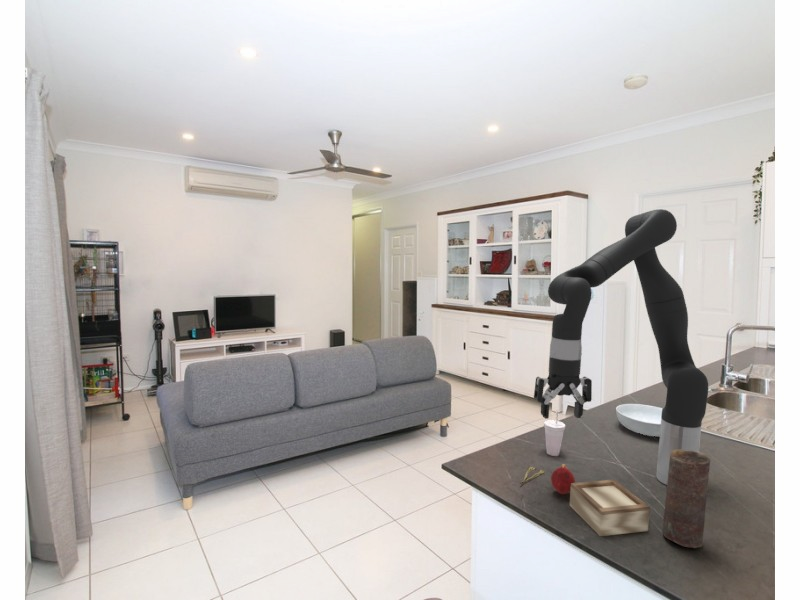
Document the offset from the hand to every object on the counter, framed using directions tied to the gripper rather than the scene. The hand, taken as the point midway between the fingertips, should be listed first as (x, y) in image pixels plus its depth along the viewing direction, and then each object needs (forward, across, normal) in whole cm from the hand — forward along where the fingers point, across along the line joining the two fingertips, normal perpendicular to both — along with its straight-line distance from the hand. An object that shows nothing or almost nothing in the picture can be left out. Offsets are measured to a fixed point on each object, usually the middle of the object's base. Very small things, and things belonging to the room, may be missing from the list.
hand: (561, 417), depth 111 cm
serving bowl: (+20, -51, -37) cm, 66 cm away
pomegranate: (+20, -1, +1) cm, 21 cm away
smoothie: (+20, -9, -22) cm, 31 cm away
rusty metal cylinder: (+20, -19, +21) cm, 35 cm away
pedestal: (+20, -7, +11) cm, 24 cm away
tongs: (+21, +4, -8) cm, 23 cm away
